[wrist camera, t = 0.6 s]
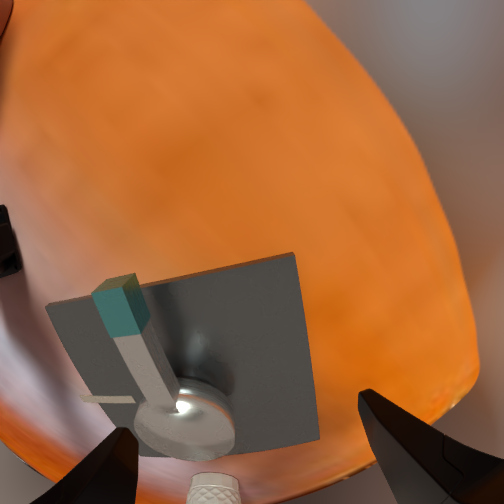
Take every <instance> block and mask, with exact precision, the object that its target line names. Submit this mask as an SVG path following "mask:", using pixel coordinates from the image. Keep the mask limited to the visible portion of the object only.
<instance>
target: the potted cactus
mask: <svg viewBox="0 0 504 504" xmlns="http://www.w3.org/2000/svg"><path fill="white" fill-rule="evenodd" d="M12 3H13V0H0V37H1V34H2V32H3V30H4V28H5V25H6V23H7V20H8V18H9V15H10V12H11V8H12Z"/></svg>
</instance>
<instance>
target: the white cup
mask: <svg viewBox="0 0 504 504" xmlns="http://www.w3.org/2000/svg"><path fill="white" fill-rule="evenodd" d="M186 504H241V497H240V494H239V483H238V480H237V479H235V478H234V477H232V476H229V475H226V474H222V473H212V472H209V473H199V474H196V475H194V476H193V477H192V479H191V481H190V488H189V492H188V495H187V501H186Z"/></svg>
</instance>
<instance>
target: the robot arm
mask: <svg viewBox="0 0 504 504" xmlns="http://www.w3.org/2000/svg"><path fill="white" fill-rule="evenodd" d="M21 269H22V266H21V262H20V259H19V256H18V253H17V250H16V246H15V243H14V240H13V236H12V232H11V228H10V224H9V220H8V216H7V211H6V207H5V205H0V278H2V277H5V276H8V275H11V274H14V273H17V272H19V271H20V270H21ZM358 411H359V414H360V417H361V420H362V423H363V426H364V429H365V432H366V435H367V438H368V441H369V444H370V447H371V449H372V451H373V453H374V455H375V457H376V459H377V461H378V463H379V465H380V467H381V470H382V472H383V473H384V475H385V478H386V480H387V482H388V484H389V486H390V488H391V490H392V492H393V494H394V497H395V499H396V501H397V503H398V504H504V459H501V458H498V457H495V456H492V455H489V454H487V453H484V452H481V451H478V450H476V449H473V448H471V447H468V446H466V445H464V444H462V443H460V442H458V441H456V440H454V439H452V438H451V437H449V436H447V435H444V433H442V432H440V431H438V430H437V429H435V428H433V427H432V426H430V425H428V424H427V423H425V422H423V421H422V420H420V419H418V418H417V417H415V416H413V415H412V414H410V413H409V412H407V411H405V410H404V409H402V408H401V407H399V406H397V405H396V404H394V403H393V402H391V401H389V400H388V399H386V398H385V397H383V396H382V395H380V394H379V393H377V392H375V391H374V390H372V389H366V390H363V391H360V392H359V394H358ZM138 456H139V442H138V440H137V438H136V437H135V436H134V435H133V433H132V432H131V431H130V429H129V428H127V427H117V428H116V429H115V430H114V431H113V432H111V433H110V434H109V435H108V436H107V437H106V438H105V439H104V440H103V441H102V442H101V443H100V444H99V445H98V446H97V447H96V448H95V449H94V450H93V451H91V452H90V453H89V454H88V455H87V456H86V457H85V458H84V459H83V460H82V461H81V462H80V463H79V464H77V465H76V466H75V467H74V468H73V469H72V470H71V471H70V472H69V473H68V474H67V475H65V476H64V477H63V479H61V480H60V481H59V482H58V483H56V484H55V485H54V486H53V487H52V488H51V489H49V490H48V491H47V492H45V493H44V494H43V495H41V496H40V497H38V498H37V499H36V500H34V501H33V502H31V503H30V504H135V498H136V489H137V481H138Z"/></svg>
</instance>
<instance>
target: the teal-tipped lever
mask: <svg viewBox="0 0 504 504" xmlns="http://www.w3.org/2000/svg"><path fill="white" fill-rule="evenodd" d="M91 294H92V297H93V299H94V302H95V304H96V307H97V309H98V311H99V314H100V316H101V318H102V321H103V323H104V325H105V327H106V329H107V331H108V334H109V336H110V338H113V339H114V341H115V343H116V345H117V347H118V349H119V351H120V353H121V355H122V357H123V359H124V361H125V363H126V365H127V367H128V368H129V370H130V372H131V374H132V376H133V377H134V379H135V381H136V383H137V384H138V386H139V388H140V390H141V391H142V393H143V397H142V399H141V402H140V405H139V408H138V410H137V413H136V416H135V419H134V428H135V431H136V433H137V435H138V436H139V437H140V439H141V440H142V441H143V442H144V443H146V444H147V445H148V446H149V447H151V448H152V449H154V450H156V451H158V452H160V453H162V454H164V455H167V456H170V457H173V458H176V459H181V460H187V461H207V460H213V459H217V458H219V457H222V456H224V455H226V454H227V453H228V452H229V451H231V449H232V448H233V446H234V444H235V410H234V406H233V404H232V402H231V401H230V400H229V398H228V397H227V396H226V395H225V394H223V393H222V392H221V391H219V390H218V389H216V388H214V387H212V386H210V385H208V384H206V383H203V382H200V381H196V380H192V379H185V378H176V376H175V374H174V372H173V370H172V368H171V366H170V364H169V361H168V359H167V357H166V355H165V353H164V350H163V348H162V346H161V344H160V341H159V339H158V337H157V334H156V332H155V330H154V327H153V325H152V322H151V320H150V317H151V315H150V312H149V309H148V307H147V304H146V302H145V299H144V296H143V294H142V291H141V288H140V285H139V282H138V280H137V277H136V274H135V273H132V274H128V275H124V276H119V277H115V278H110V279H106V280H105V281H104V282H103V283H102V284H101V285H100V286H99V287H97V288H96V289H95V290H94V291H93V292H92V293H91Z"/></svg>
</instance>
